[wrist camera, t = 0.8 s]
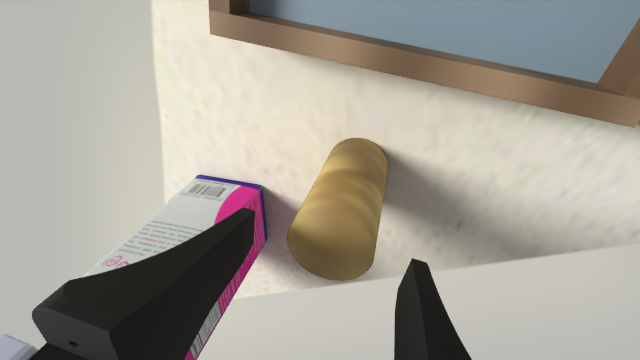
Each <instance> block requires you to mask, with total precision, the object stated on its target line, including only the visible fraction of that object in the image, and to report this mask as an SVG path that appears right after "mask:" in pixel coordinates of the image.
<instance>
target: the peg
mask: <svg viewBox="0 0 640 360" xmlns="http://www.w3.org/2000/svg"><path fill="white" fill-rule="evenodd" d="M387 174H388V160H387V157H386V155H385V153H384V152H383V150H382V149H381V148H380V147H379V146H378V145H376V144H375V143H373V142H371V141H369V140H366V139H362V138H350V139H346V140H344V141H342V142H340V143H338V144H337V145H336V146H335V147H334V148H333V150H332V151H331V153H330V155H329V157H328V159H327V160H326V162H325V164H324V166H323V168H322V170H321V171H320V173H319V175H318V177H317V179H316V181H315V182H314V184H313V186H312V188H311V190H310V191H309V193H308V195H307V197H306V199H305V201H304V202H303V204H302V206H301V208H300V210H299V212H298V213H297V215H296V217H295V219H294V221H293V223H292V224H291V226H290V228H289V231H288V234H287V243H288V247H289V250H290V252H291V254H292V255H293V257H294V258H295V260H296V261H297V262H298V263H299V264H300V265H301V266H302V267H304V268H305V269H306V270H308V271H309V272H311V273H313V274H315V275H317V276H320V277H322V278H326V279H331V280H350V279H354V278H357V277H359V276H361V275H363V274H364V273H365V272H366V271H367V270H368V269H369V268H370V267H371V265H372V263H373V259H374V254H375V248H376V241H377V235H378V229H379V223H380V217H381V211H382V205H383V199H384V193H385V187H386V180H387Z"/></svg>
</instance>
